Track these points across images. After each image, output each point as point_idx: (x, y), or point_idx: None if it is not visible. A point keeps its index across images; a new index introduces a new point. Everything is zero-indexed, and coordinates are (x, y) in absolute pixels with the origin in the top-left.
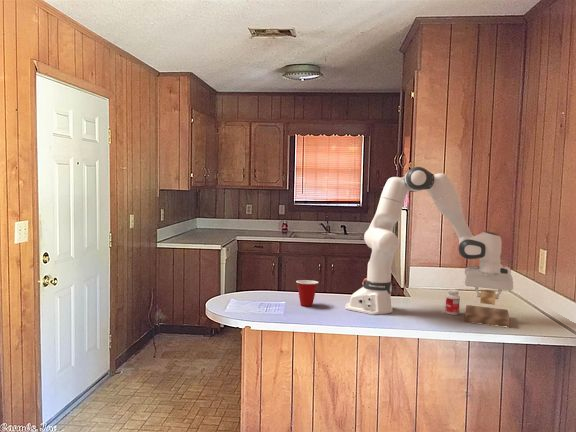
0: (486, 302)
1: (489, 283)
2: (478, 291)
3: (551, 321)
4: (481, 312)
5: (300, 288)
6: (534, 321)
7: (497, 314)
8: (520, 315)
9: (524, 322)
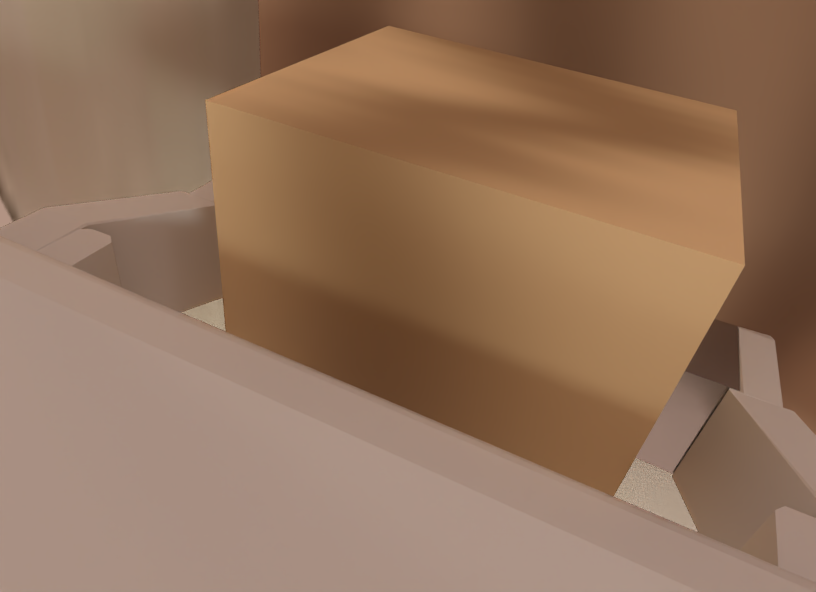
0: (568, 81)
1: (146, 557)
2: (687, 508)
3: (14, 178)
4: (682, 81)
5: None
6: (106, 149)
7: (412, 10)
8: (213, 319)
9: (171, 86)
